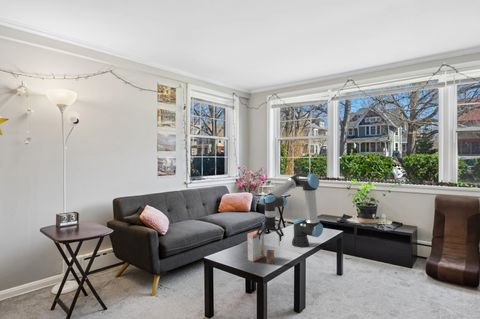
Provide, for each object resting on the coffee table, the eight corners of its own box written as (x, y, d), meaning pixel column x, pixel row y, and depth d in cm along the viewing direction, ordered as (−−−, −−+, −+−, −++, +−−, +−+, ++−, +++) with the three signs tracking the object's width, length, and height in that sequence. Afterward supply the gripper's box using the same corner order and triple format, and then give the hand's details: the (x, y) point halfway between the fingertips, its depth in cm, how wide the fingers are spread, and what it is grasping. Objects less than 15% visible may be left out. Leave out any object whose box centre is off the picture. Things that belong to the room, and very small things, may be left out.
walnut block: (274, 262, 220) (274, 250, 220) (273, 264, 215) (273, 252, 215) (267, 261, 221) (267, 249, 221) (266, 263, 217) (266, 251, 216)
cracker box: (258, 255, 234) (258, 229, 234) (264, 257, 230) (264, 230, 230) (247, 260, 224) (247, 233, 224) (253, 262, 220) (253, 234, 220)
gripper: (287, 216, 218) (287, 244, 219) (254, 214, 224) (254, 242, 225) (286, 218, 211) (286, 247, 211) (252, 216, 217) (252, 244, 217)
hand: (270, 244), depth 218 cm, fingers open, 13 cm apart
